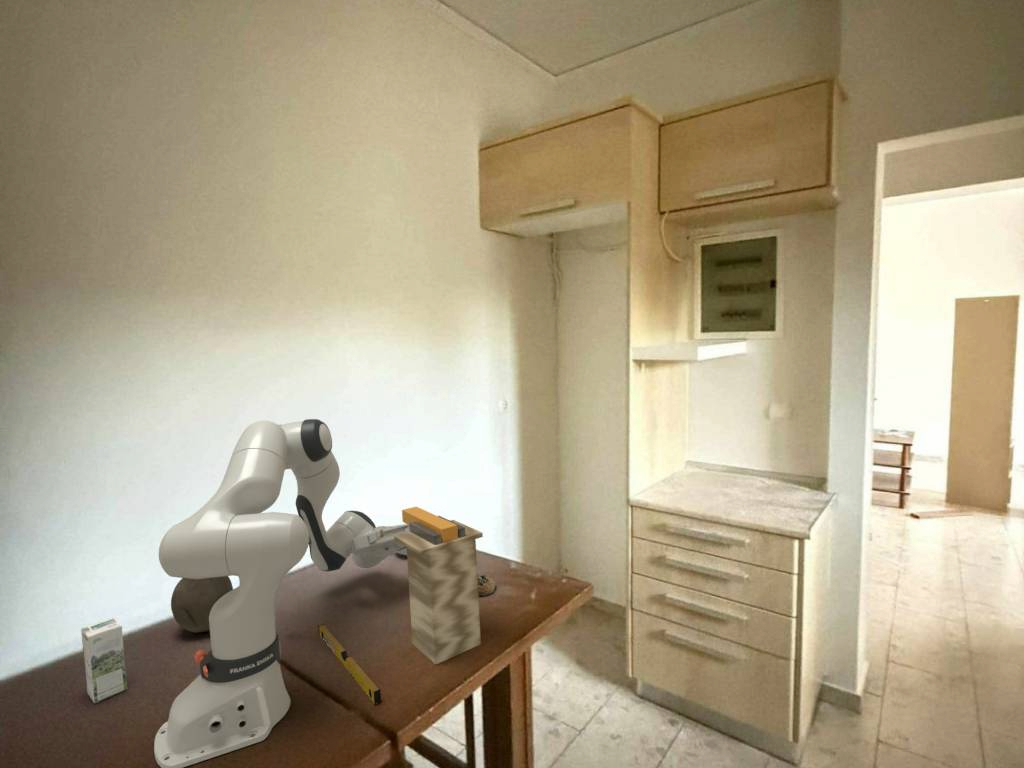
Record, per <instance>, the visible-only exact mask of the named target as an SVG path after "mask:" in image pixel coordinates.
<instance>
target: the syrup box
mask: <svg viewBox="0 0 1024 768" xmlns="http://www.w3.org/2000/svg"><path fill="white" fill-rule="evenodd" d="M80 632H81V642H82V651H83V653H82V654H83V662H84V673H85V683H86V684H85V685H86V692H87V695H88V696H89V698H90V699H91V701H92V702H93V704H98V703H100V702H102V701H104V700H107V699H109V698H111V697H113V696H116V695H117V694H120V693H122V692H124V691H127V690H128V683H127V672H126V671H127V670H126V663H125V662H126V661H125V649H124V636H123V626H122V625H121V624H120V623H119V622H118V620H117V619H116V618H115V617H111V618H108V619H105V620H103V621H100V622H97V623H94V624H90V625H88V626H85V627H82V628H80Z"/></svg>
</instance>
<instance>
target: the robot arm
mask: <svg viewBox="0 0 1024 768" xmlns="http://www.w3.org/2000/svg"><path fill="white" fill-rule="evenodd" d="M332 448H333V438H332V433H331V431H330V428H329V427H328V425H327V424H326V423H325V422H324V421H322V420H320V419H317V418H309V419H308V418H307V419H304V420H302V421H296V422H295V421H294V422H289V423H284V424H277V423H275V422H273V421H269V420H260V421H259V420H258V421H256V422H253V423H251V424H249V425H248V426H247V427H246V428H245V429H244V431H243V432H242V434H241V436H240V437H239V439H238V441H237V443H236V444H235V446H234V449H233V452H232V455H231V457H230V459H229V463H228V466H227V469H226V471H225V474H224V476H223V478H222V481H221V482H220V483H221V484H220V486H219V487H218V489H217V490H216V492H215V494H213V496H212V497H211V498H210V499H209V500H208V501H207V502H206V503H205V504H204V505H203V506H202V507H201V508H200V509H198V510H197V511H196V512H194V513H193V514H192V515H190V516H189V517H187V518H185V519H184V520H182V521H181V522H178V523H177V524H174V525H172V526H171V527H170V528H169V529H168V530H167V532H166V533H165V534H164V536H163V538H162V540H161V542H160V544H159V548H158V561H159V564H160V566H161V568H162V570H163V571H164V572H165V574H167V575H168V576H169V577H171V578H179V579H182V578H188V579H204V578H213V577H223V576H228V577H231V576H234V577H238V579H239V585H238V586H237V587H235V588H233V590H231V591H230V592H228V593H227V594H225V595H224V596H222V597H221V598H220V599H219V600H218V601H217V602H216V603H215V604H214V605H213V607H212V609H211V611H210V615H209V627H210V631H209V635H210V636H209V637H210V648H211V649H210V650H209V651H208V652H207V651H206V650H205V649H200V650H197V651H196V652H195V654H194V660H195V661H194V662H195V663H196V665H199V673H200V674H199V675H198V676H196V677H195V679H194V680H193V681H192V682H191V683H190V684H188V686H187V687H186V688H185V689H183V690H182V691H181V692H180V693H179V694H178V695H177V696H176V697H175V699H174V701H173V702H172V703H171V706H170V710H169V714H168V715H169V716H168V719H167V721H165V722H164V723H163V724H162V725H161V726H160V728H159V729H158V731H157V732H156V734H155V737H154V742H153V743H154V745H153V753H154V758H155V761H156V763H157V765H158V766H159V767H160V768H185V767H188V766H191V765H195V764H198V763H201V762H203V761H206V760H207V761H208V760H210V759H212V758H215V757H218V756H221V755H224V754H227V753H231V752H233V751H236V750H239V749H243V748H245V747H248V746H251V745H253V744H257V743H261V742H263V741H264V740H265V739H266V738H268V736H269V735H270V733H271V731H272V730H273V728H274V727H275V725H276V724H277V723H279V722H280V721H281V720H282V719H283V718H284V717H285V715H286V714H287V712H288V711H289V709H290V706H291V697H290V695H289V693H288V690H287V689H286V686H285V683H284V677H283V674H282V669H281V657H282V653H281V652H282V651H281V642H280V641H281V640H280V638H279V637H280V636H279V634H278V633H277V631H276V628H277V627H276V600H277V599H276V598H277V593H278V590H279V587H280V585H281V584H282V581H283V580H284V579H285V577H286V576H287V574H288V573H289V572H290V571H291V570H292V569H293V568H294V567H296V565H298V563H300V562H301V561H302V559H304V556H305V554H306V552H307V550H308V548H309V555H310V556H309V557H310V559H311V560H312V563H313V564H314V565H315V566H316V567H317V568H318V569H319V570H321V571H322V572H333V571H337V570H340V569H341V568H342V566H343V565H344V564H345V562H346V561H347V559H348V558H349V557H350V555H351V557H352V561H353V563H354V564H355V566H357V567H358V568H362V569H370V568H373V567H376V566H378V565H380V564H381V562H383V561H385V560H386V559H387V558H389V557H390V556H392V555H394V554H395V553H397V551H400V550H402V549H405V548H407V547H405V546H404V545H402V544H400V543H399V542H397V541H395V540H394V536H395V535H399V534H403V533H406V532H410V525H408V524H406V523H404V524H398V525H387V526H385V525H380V526H379V525H378V526H376V524H375V523H374V522H373V520H372V518H370V517H369V516H368V515H367V514H366V513H364V512H362V511H359V510H346V511H344V513H342V514H341V515H340V517H338V518H337V520H336V521H334V523H333V524H332V525H331V526H330V527H329V528H328V529H327V530H326V528H325V524H324V521H323V511H324V508H325V507H326V504H327V502H328V500H329V498H330V497H331V495H332V494H333V491H334V490H335V488H336V487H337V485H338V483H339V480H340V474H341V471H340V467H339V464H338V461H337V458H336V457H335V454H333V452H332ZM286 470H291V471H292V473H293V476H294V478H295V480H296V483H297V485H296V487H297V495H296V498H295V506H296V511H297V514H295V513H286V512H278V511H276V512H275V511H271V512H270V511H269V512H265V511H267V510H268V509H269V508H271V507H272V506H273V505H274V504H275V503H276V501H277V500H278V498H279V496H280V493H281V490H282V485H283V479H284V475H285V471H286Z"/></svg>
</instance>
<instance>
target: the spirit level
mask: <svg viewBox="0 0 1024 768" xmlns="http://www.w3.org/2000/svg"><path fill="white" fill-rule="evenodd" d="M319 635H320V636H321V637H322V638H324V639H325V640H326V641H327V643H328V644H329V645H330V646H331V647H332V648H333V649H334V650H335V654H336V655H337V657H338V658H339V659H340V660H341V661H342V663H343V664H344V665H345V667H346V668H347V669H348V670H349V671H350V673H351V674H352V676H353V677H354V678H355V679H354V678H353V677H352V676H351V677H352V678H353V679H354V681H355V680H356V681H357V682H358V683H359V684H358V683H357V682H356V681H355V682H356V683H357V684H358V685H360V686H361V687H362V688H363V689H362V688H361V687H360V686H359V687H360V688H361V689H362V691H363V690H364V691H365V692H366V693H365V692H364V691H363V692H364V693H365V694H366V696H367V695H368V696H369V697H370V698H369V697H368V696H367V697H368V698H369V699H370V701H371V700H372V701H373V702H372V701H371V702H372V703H373V706H376V705H377V704H376V703H378V702H381V703H382V695H381V689H380V688H378V686H377V685H376V684H375V683H374V681H372V679H371V678H370V676H368V675H367V673H366V672H364V670H363V669H362V667H360V665H359V664H358V663H357V662H356V661H355V659H354V658H353V657H352V656H351V655H350V656H348V654H347V650H346V649H345V648H344V647H343V646H342V644H341V643H340V642H339V641H338V640H337V639H336V637H335V636H334V635H333V634H332V632H331V631H330V630H328V627H326V626H325V624H324V623H322V624H319V625H318V636H319ZM321 637H320V638H321ZM337 657H336V658H337ZM338 658H337V659H338ZM342 663H341V664H342ZM345 667H344V668H345ZM346 668H345V669H346ZM350 673H349V674H350ZM378 704H379V703H378Z"/></svg>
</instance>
